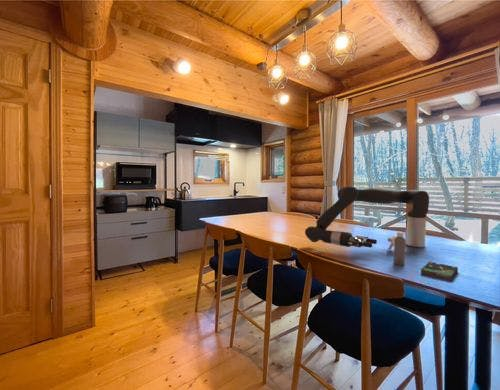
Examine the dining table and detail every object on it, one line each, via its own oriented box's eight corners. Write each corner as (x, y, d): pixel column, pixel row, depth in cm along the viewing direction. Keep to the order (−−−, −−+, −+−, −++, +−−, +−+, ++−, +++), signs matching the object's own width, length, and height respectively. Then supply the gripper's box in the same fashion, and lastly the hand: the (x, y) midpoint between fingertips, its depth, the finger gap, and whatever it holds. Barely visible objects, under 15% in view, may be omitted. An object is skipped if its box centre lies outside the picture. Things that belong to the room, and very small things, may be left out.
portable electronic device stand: (400, 255, 130) (401, 240, 129) (384, 252, 136) (385, 237, 135) (407, 252, 135) (407, 237, 135) (391, 249, 141) (391, 235, 141)
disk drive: (428, 267, 114) (420, 275, 104) (428, 261, 114) (420, 268, 104) (457, 273, 107) (452, 282, 97) (458, 266, 107) (452, 275, 97)
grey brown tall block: (392, 264, 116) (394, 232, 115) (394, 262, 120) (395, 230, 119) (403, 266, 113) (405, 233, 112) (405, 264, 117) (406, 232, 116)
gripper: (336, 233, 128) (370, 238, 117) (346, 229, 139) (378, 233, 128) (336, 248, 128) (370, 254, 118) (345, 242, 139) (377, 248, 129)
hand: (374, 243), depth 123 cm, fingers open, 8 cm apart
